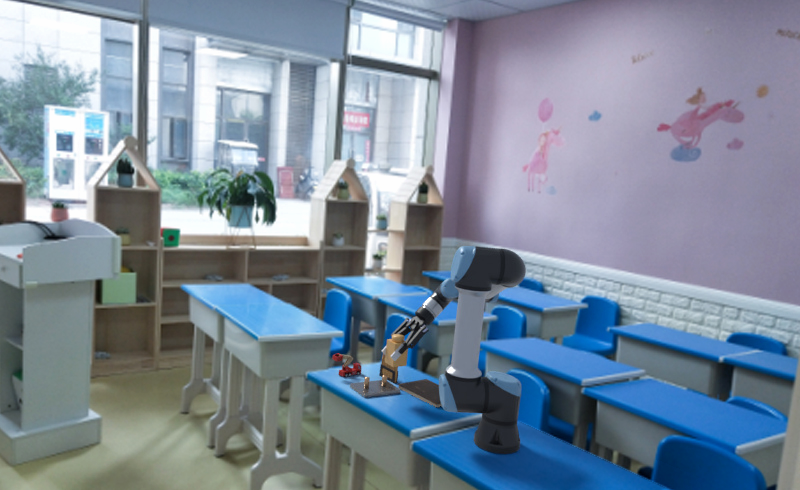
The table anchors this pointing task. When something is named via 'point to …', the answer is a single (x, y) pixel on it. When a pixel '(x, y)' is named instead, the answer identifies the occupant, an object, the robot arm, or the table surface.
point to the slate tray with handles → (375, 387)
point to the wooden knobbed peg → (390, 349)
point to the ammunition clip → (388, 371)
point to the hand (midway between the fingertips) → (388, 356)
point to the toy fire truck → (345, 368)
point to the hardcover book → (423, 391)
